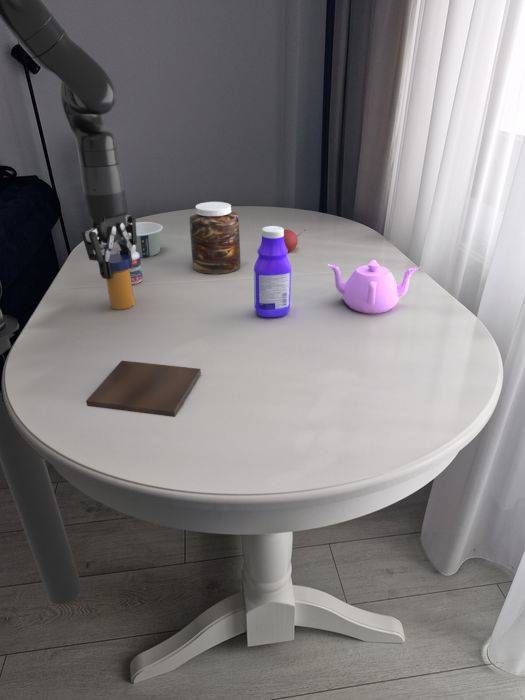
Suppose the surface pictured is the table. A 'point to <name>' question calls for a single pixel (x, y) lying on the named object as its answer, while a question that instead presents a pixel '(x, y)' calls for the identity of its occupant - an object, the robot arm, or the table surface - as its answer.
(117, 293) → the orange cylindrical container
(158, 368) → the board
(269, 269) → the bottle
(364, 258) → the table surface
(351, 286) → the teapot
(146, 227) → the food container
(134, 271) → the pill bottle
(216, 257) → the jar
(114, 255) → the lid
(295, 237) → the fruit
